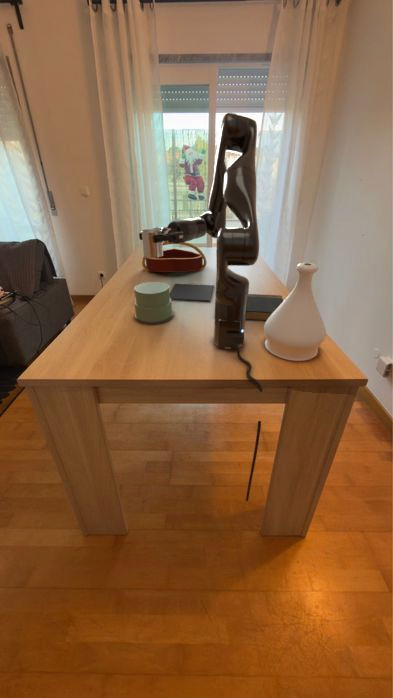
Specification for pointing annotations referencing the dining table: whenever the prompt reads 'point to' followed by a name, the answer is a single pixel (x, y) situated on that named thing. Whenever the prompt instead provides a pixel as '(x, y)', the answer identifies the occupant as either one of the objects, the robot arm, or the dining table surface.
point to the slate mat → (191, 292)
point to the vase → (296, 321)
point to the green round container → (153, 303)
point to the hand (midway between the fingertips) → (146, 238)
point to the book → (262, 306)
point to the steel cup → (151, 243)
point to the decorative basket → (176, 260)
